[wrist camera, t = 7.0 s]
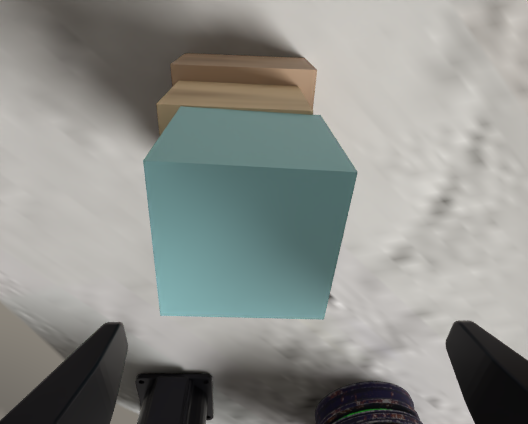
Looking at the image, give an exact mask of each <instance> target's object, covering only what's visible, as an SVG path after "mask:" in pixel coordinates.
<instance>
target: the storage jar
mask: <svg viewBox="0 0 528 424" xmlns="http://www.w3.org/2000/svg"><path fill="white" fill-rule="evenodd" d="M315 419H316V424H423V423H422V422H421V421H420V419H419V416H418V414H417V412H416V411H415V410H414V404H413V401H412V399H411V397H410V395H409V394H408V393H407V391H405V390H404V389H403V388H401V387H399V386H397V385H394V384H391V383H385V382H361V383H356V384H351V385H348V386H345V387H342V388H340V389H337V390H335V391H334V392H332V393H330V394H329V395H327V396H326V397H325V398H324V399H323V400H322V401H321V402H320V403H319V404H318V406H317V408H316V411H315Z"/></svg>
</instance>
